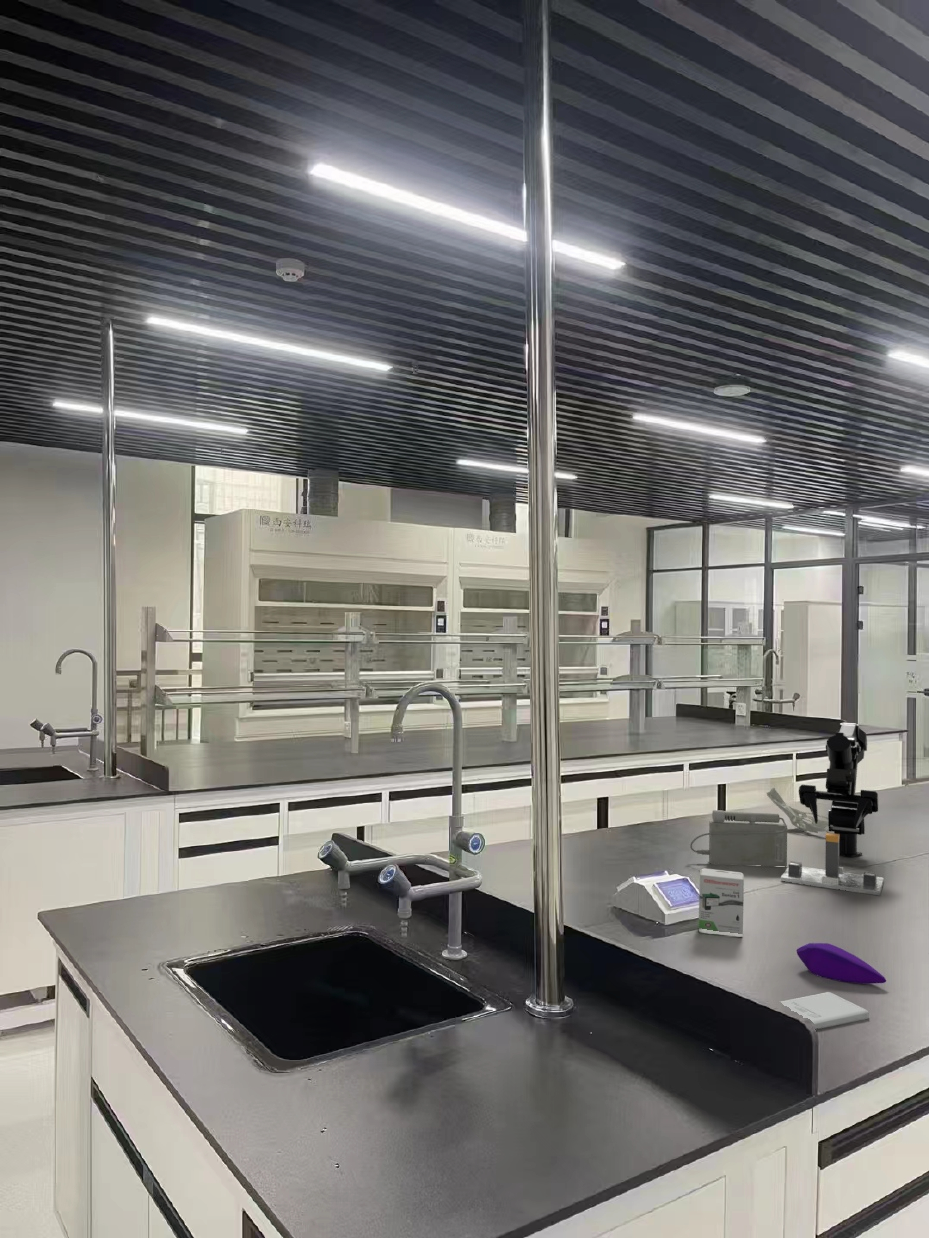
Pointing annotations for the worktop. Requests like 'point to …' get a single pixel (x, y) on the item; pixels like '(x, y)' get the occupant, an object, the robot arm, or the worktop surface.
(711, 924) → the ink box
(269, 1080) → the worktop surface
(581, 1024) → the worktop surface
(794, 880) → the breaker panel
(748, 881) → the worktop surface
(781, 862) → the geiger counter
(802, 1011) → the external hard drive
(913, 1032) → the worktop surface
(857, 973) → the purple teardrop shape
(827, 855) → the lever
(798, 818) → the skeletal model
